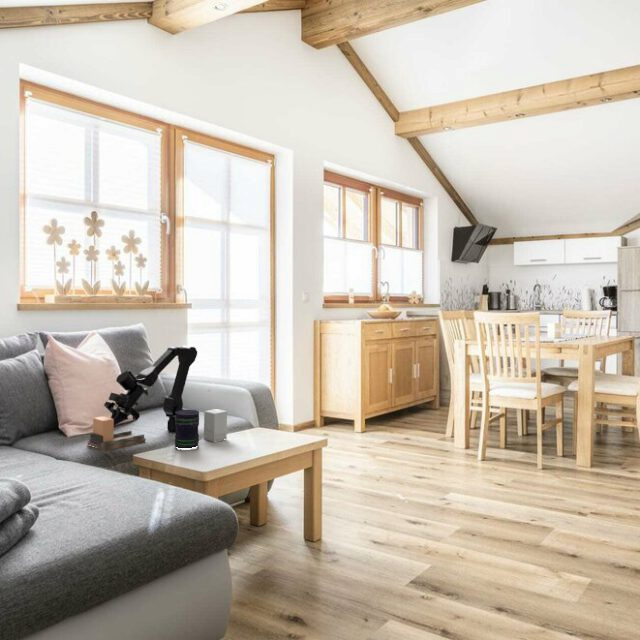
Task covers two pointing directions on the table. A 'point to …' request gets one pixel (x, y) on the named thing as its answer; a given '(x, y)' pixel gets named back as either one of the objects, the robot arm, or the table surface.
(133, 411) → the robot arm
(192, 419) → the storage jar
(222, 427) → the supplement box
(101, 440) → the walnut chute
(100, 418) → the terracotta block
